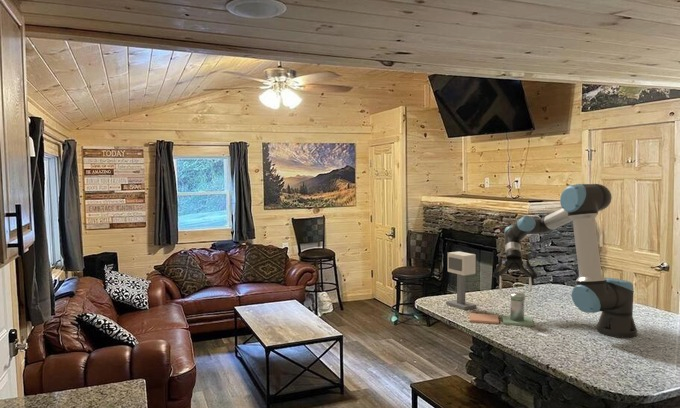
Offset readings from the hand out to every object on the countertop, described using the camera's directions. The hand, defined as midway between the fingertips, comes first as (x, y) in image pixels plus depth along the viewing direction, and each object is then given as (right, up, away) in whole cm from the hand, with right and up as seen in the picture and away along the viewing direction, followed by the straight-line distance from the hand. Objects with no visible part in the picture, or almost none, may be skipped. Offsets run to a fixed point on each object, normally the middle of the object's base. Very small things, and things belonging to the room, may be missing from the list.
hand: (515, 289), depth 236 cm
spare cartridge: (-1, -13, -5) cm, 14 cm away
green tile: (-1, -14, -5) cm, 15 cm away
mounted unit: (-20, -12, +23) cm, 33 cm away
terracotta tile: (-15, -14, -1) cm, 21 cm away
